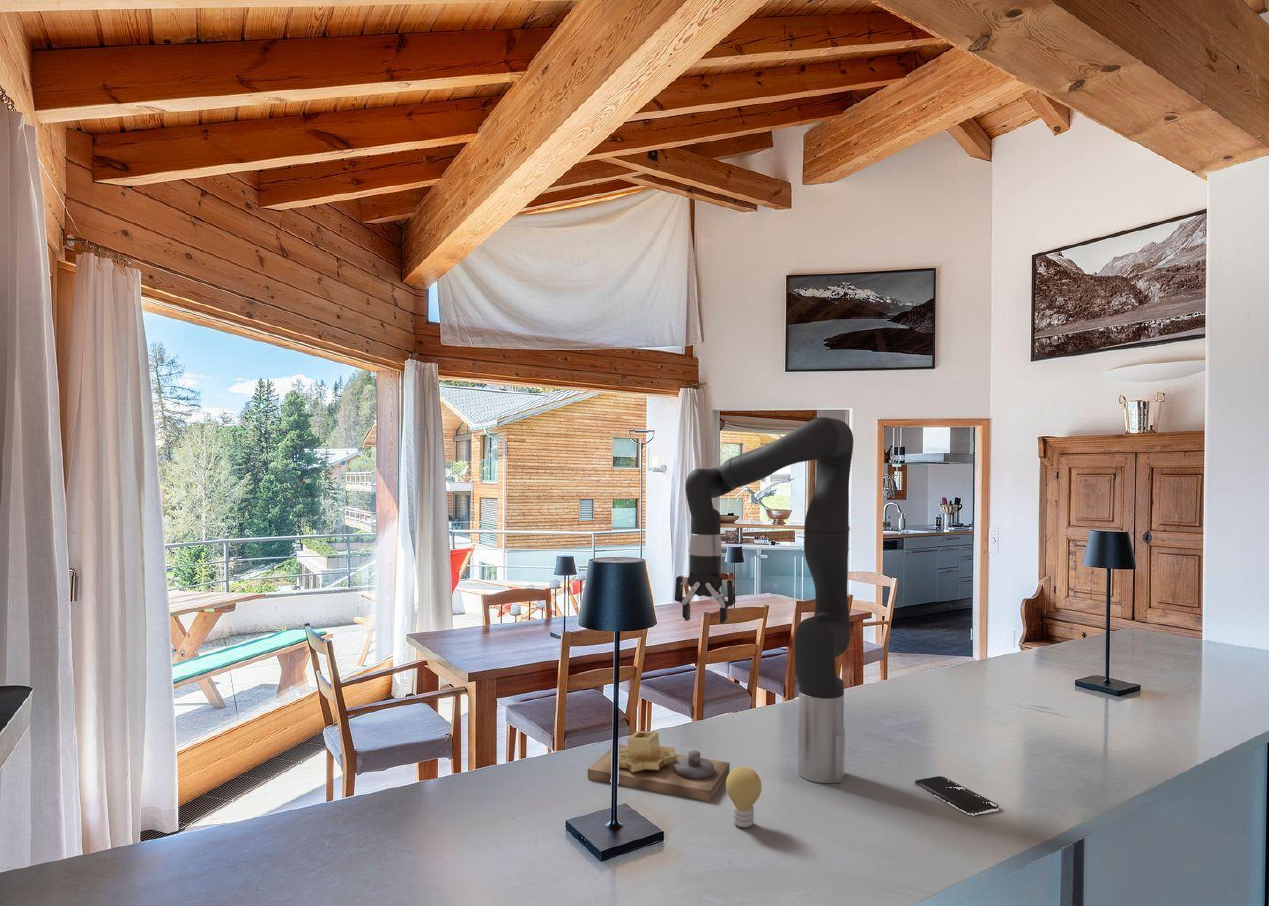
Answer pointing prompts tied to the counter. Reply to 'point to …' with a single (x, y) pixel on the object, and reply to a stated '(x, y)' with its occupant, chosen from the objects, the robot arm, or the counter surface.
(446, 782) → the counter surface
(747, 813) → the light bulb
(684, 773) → the wooden peg board
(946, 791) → the phone
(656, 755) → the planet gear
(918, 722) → the counter surface
